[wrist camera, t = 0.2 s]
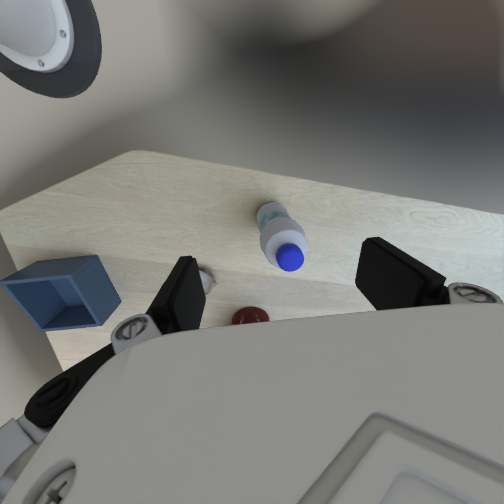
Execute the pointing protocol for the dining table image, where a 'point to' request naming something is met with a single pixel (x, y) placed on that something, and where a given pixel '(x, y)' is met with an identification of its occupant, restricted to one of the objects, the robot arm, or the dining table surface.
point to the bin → (64, 293)
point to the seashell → (207, 281)
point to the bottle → (281, 237)
